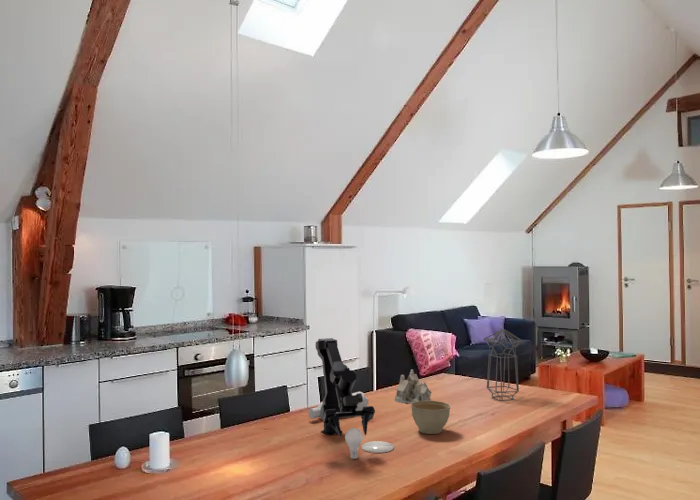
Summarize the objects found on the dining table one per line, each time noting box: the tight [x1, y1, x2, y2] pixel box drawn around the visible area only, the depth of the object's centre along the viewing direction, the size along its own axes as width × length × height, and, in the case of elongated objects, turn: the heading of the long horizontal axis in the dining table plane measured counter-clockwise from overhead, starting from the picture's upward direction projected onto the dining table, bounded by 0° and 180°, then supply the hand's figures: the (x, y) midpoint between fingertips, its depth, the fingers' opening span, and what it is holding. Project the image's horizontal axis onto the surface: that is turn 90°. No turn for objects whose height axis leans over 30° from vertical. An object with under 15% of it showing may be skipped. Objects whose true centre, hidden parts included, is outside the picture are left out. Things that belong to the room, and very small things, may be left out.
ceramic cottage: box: [393, 369, 432, 404], centre depth 301 cm, size 16×16×15 cm
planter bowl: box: [410, 400, 451, 435], centre depth 250 cm, size 16×16×11 cm
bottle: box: [308, 391, 369, 420], centre depth 274 cm, size 9×9×30 cm
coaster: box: [361, 440, 394, 454], centre depth 229 cm, size 12×12×1 cm
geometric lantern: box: [483, 328, 525, 402], centre depth 305 cm, size 16×16×35 cm
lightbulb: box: [344, 427, 364, 460], centre depth 217 cm, size 6×6×11 cm
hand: (353, 435), depth 217 cm, fingers open, 9 cm apart
